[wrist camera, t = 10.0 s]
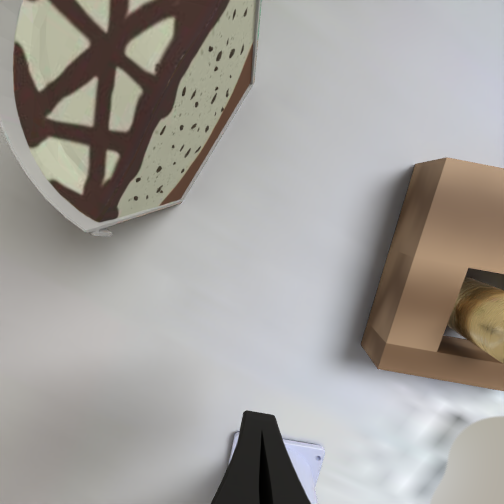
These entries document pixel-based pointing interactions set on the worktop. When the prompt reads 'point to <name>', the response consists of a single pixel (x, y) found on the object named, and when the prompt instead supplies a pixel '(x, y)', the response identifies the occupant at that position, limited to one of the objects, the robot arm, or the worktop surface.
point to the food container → (121, 97)
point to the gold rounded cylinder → (480, 316)
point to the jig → (438, 273)
